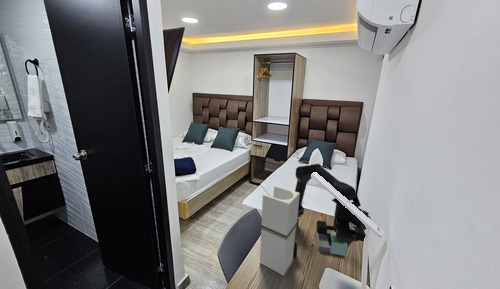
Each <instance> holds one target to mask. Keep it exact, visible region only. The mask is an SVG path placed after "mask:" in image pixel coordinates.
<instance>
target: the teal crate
mask: <svg viewBox="0 0 500 289" xmlns="http://www.w3.org/2000/svg"><path fill="white" fill-rule="evenodd" d="M347 247H348V248H349V246H348V245H347V243H343V242H338V241H337V240H336V233H335V234H334V233H331V245H330V252H331V253H330V254H333V255H339V256H345V257H347V254H348V253H347V252H348V248H347Z"/></svg>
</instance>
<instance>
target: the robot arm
mask: <svg viewBox="0 0 500 289" xmlns="http://www.w3.org/2000/svg"><path fill="white" fill-rule="evenodd" d="M313 172H317V173H318V174H319V175H320V176H322V177H323V178H324V179H325V180H326V181H327V182H329V183H330V184H331V185H332V186H333V187H334V188H335V189H336V190H337V191H339V192H340V193H341V194H342V195H343V196H345V197H346V198H347V199H348V200H349V201H348V202H350V203H352V204H354V205H355V206H356V207H357V208H358V209H359V210H360V211H362V212H363V213H364V214H365V215H366V216H367V217H369V218H370V219H371V216H370V214H369V212H368V211H366V210H363V209H362V208H360V207H361V206H362V205H361V202H360V200H359V197H358V195H357V192H356V188H355V187H353V186H352V185H350V184H348V183H346V182H342V181H340V180H339V179H337V178H336V177H335V176H333V175H332V174H331V173H330V172H328V171H327V169H325V168H324V167H323V166H322V165H321V164H320V163H313V164H310V165H309V164H308V165H301V166H297V167H296V169H295V178H296V184H295V189H294V191H295V192H298V193H300V195H299V206H298V217H297V228H296V230H295V231H297V230H298V227H299V222H300V221H299V220H300V219H299V218H301V216H303V215H304V211H305V208H304V207H303V204H302V203H303V200H304V195H305V191H306V188H307V185H308V184H307V183H308V182H310V180H311V179H312V177H311V174H312V173H313ZM331 201H332V202H334V203H335V210H334V213H333V214H334V217H333V223H332V224H333V225H328V223H327V221H324V220H323V221H322V220H317V221H316V223H315V226H316V228H315V229H316V234H317V233H318V234H323V235H324V236H326V237H327V239H328V243H329V246H330V245H331V234H332V233H331V232H334V233H335V235H336V240H337V241H338V242H343V243H347V245H348V247H347V249H348V248H349V246H350V245H351V244H353V242H358V241H359V242H364V238H365V236H366V237H367V234H366V232H365V230H367V229H368V228H366V227H365V225H364V224H363V223H362V222H361V221H360V220H359V219H358V218H357V217H356V216H355V215H353V214H352V213H351V212H350V211H349V210H348V209H347V208H345V206H343V205H342V204H341V203H340V202H339V201H338V200H337V199H336V198H335V197H334V198H332V199H331ZM351 201H352V202H351ZM350 223H351V224H352V227H350Z"/></svg>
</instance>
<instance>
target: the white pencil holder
mask: <svg viewBox="0 0 500 289" xmlns="http://www.w3.org/2000/svg"><path fill="white" fill-rule="evenodd" d="M299 195H300V193H298V192H295V190H292V189H288V188H285V187H281V186H278V185H274V186H273V196H271V195H268V194H264V193H263V195H262V203H261V204H262V206H261V224H260V225H261V227H260V228H261V231H260V251H259V253H260V254H259V266H260V268H263V269H264V270H266V271H268V272H270V273H272V274H273V275H275V276H277V277H278V278H280V279H282V280H285V278H286V276H287V274H288V272H289V271H290V269H291V267H292V266H293V264H294V259H295V258H293V252H294V242H295V241H296V240H295V239H296V238H295V237H296V231H297V230H296V228H297V229H298V227H297V217H298V206H299ZM298 218H299V217H298Z"/></svg>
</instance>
